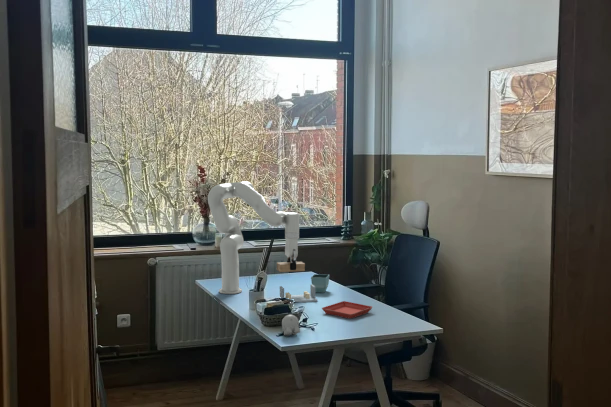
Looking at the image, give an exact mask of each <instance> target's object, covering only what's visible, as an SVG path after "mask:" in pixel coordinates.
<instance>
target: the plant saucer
mask: <svg viewBox="0 0 611 407" xmlns="http://www.w3.org/2000/svg"><path fill="white" fill-rule="evenodd" d="M372 309H373V306H372V305H366V304H360V303H355V302H350V301H346V300H343V301H340V302H337V303H336V302H335V303H333V304H330V305H327V306H323V307H321V310H322V311H323V312H325V313H324V314H326V315H332V316H336V317H341V318H345V319H350V320H351V319H353V318H356V317H360V316H362V315H366V314H368V313H369V312H370V311H371V310H372Z"/></svg>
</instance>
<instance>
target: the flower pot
mask: <svg viewBox="0 0 611 407" xmlns="http://www.w3.org/2000/svg"><path fill="white" fill-rule="evenodd" d="M310 279H311V280H310V281H311V284H312V285H314V286H315V293H325V292H326V291H327V289H328V287H329V283H330V274H323V273H322V274H320V273H319V274H318V273H317V274H316V273H315V274H312V276H311V277H310Z"/></svg>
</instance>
